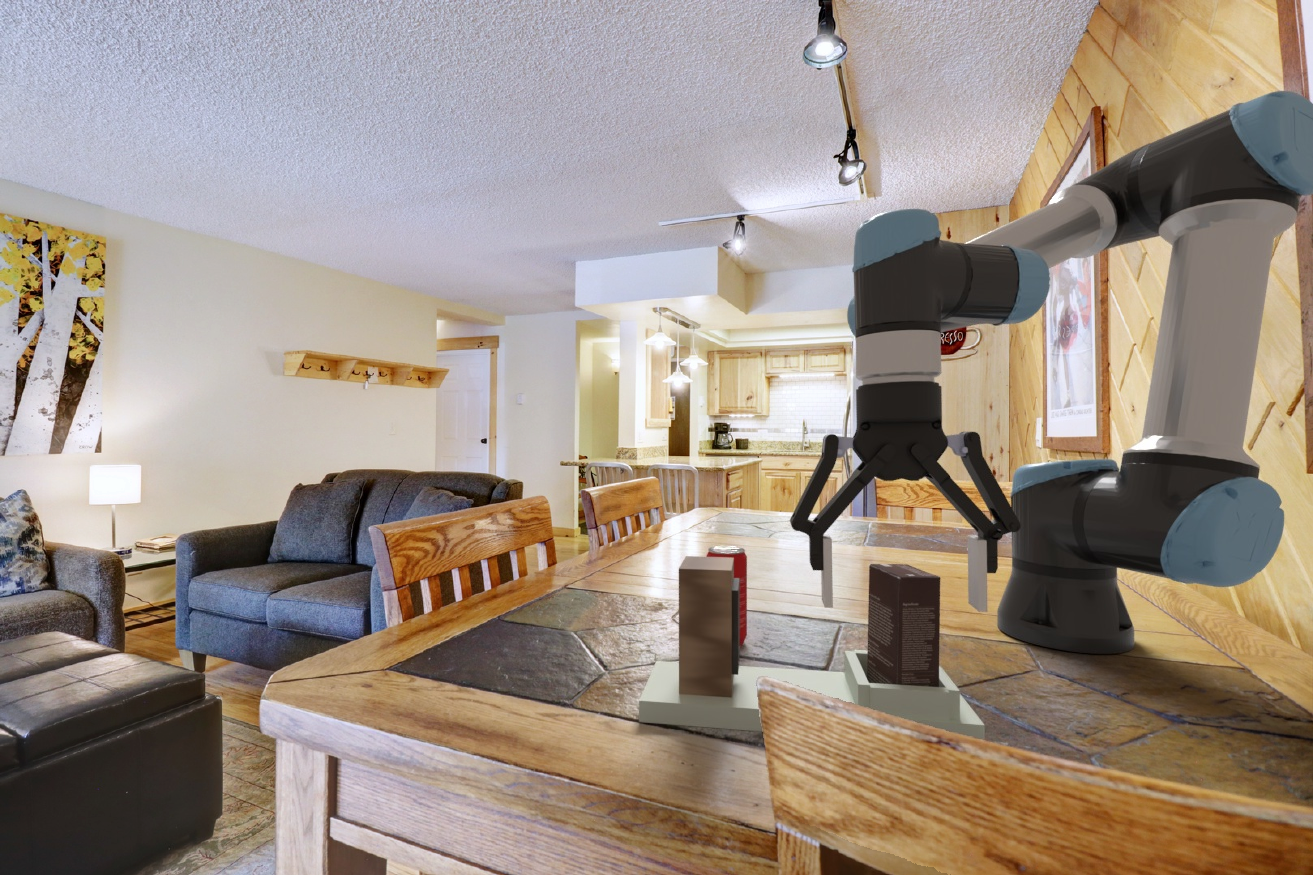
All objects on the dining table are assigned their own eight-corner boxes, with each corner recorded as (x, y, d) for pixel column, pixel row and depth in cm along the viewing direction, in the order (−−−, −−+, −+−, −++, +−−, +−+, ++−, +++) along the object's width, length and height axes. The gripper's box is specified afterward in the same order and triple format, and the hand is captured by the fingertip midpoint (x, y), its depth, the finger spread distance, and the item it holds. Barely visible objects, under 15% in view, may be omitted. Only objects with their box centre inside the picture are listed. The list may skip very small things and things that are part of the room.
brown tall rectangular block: (739, 673, 63) (739, 557, 63) (738, 697, 57) (737, 570, 57) (686, 669, 64) (685, 556, 64) (678, 693, 58) (678, 568, 58)
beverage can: (745, 650, 75) (745, 554, 75) (704, 647, 76) (703, 552, 76) (747, 637, 80) (747, 546, 80) (708, 634, 81) (708, 544, 81)
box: (943, 709, 55) (943, 575, 55) (895, 712, 54) (895, 577, 54) (907, 682, 61) (907, 561, 61) (864, 684, 60) (864, 563, 60)
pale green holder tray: (948, 697, 62) (948, 653, 62) (984, 748, 52) (984, 695, 52) (656, 679, 66) (656, 638, 66) (639, 721, 57) (638, 673, 57)
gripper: (1023, 380, 59) (1026, 597, 59) (763, 388, 63) (767, 591, 63) (1061, 373, 52) (1064, 622, 52) (764, 383, 56) (768, 613, 56)
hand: (901, 605), depth 58 cm, fingers open, 13 cm apart
